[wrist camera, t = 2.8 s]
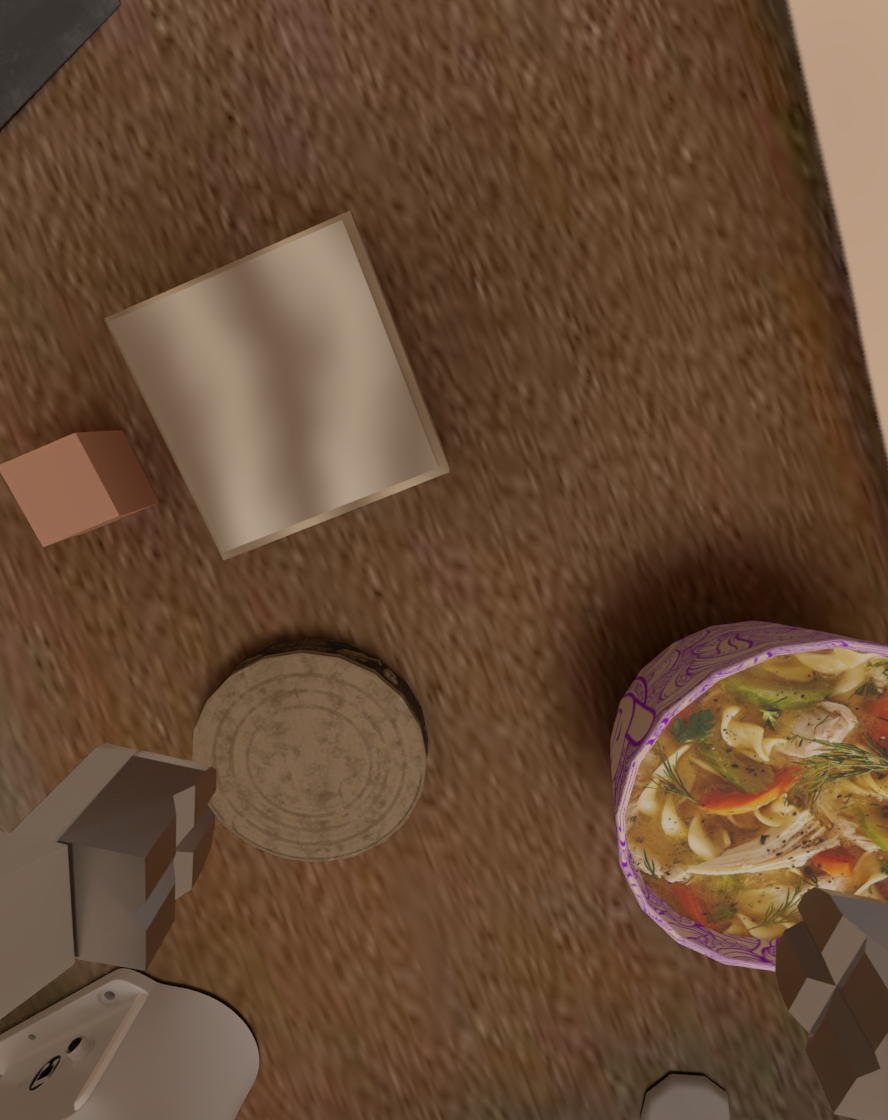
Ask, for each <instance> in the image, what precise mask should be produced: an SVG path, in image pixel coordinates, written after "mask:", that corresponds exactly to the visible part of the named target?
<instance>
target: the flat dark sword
mask: <svg viewBox="0 0 888 1120" xmlns="http://www.w3.org/2000/svg"><path fill="white" fill-rule="evenodd" d="M120 5H121V4H120V0H0V128H1V127H2V126H3V125H4V124H5V123H6V122H7V121H8V120H9V119H10V118H11V117H12V116H13V115H14V114H15V113H16V112H17V111H18V110H19V109H20V108H21V107H22V106H23V105H24V104H25V103H26V102H27V101H28V100H29V99H30V98H31V97H32V96H33V95H34V94H35V93H36V91H37V90H38V89H39V88H40V87H41V86H42V85H43V84H44V83H45V82H46V81H47V80H48V79H49V78H50V77H51V76H52V75H53V74H54V73H55V72H56V71H57V70H58V69H59V68H60V67H61V66H62V65H63V64H64V63H65V62H66V61H67V60H68V59H69V58H70V57H71V56H72V55H73V54H74V53H75V51H76V50H77V49H78V48H79V47H80V46H81V45H82V44H83V43H84V42H85V41H86V40H87V39H88V38H89V37H90V36H91V35H92V34H93V33H94V32H95V31H96V30H97V29H98V28H99V27H100V26H101V25H102V24H103V23H104V22H105V21H106V20H107V19H108V18H109V17H110V16H111V15H112V14H113V13H114V12H115V10H116V9H117V8H118V7H119V6H120Z"/></svg>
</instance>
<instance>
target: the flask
mask: <svg viewBox="0 0 888 1120" xmlns="http://www.w3.org/2000/svg"><path fill="white" fill-rule="evenodd" d="M641 1119H642V1120H730V1118H729V1105H728V1096H727V1093H726V1092H725V1091H724V1090H722V1089H721V1088H720V1087H718V1086H717V1085H716V1084H715V1083H713V1082H712V1081H711V1080H709V1079H708V1078H707V1077H705V1076H697V1075H682V1074H670V1075H669V1076H668V1077H666V1078H665V1079H664V1080H662V1081H661V1082H660V1083H658V1084H657V1085H656V1086H655V1087H653V1088H652V1089H651V1090H649V1091H648V1092H647V1093H646V1096H645V1101H644V1105H643V1110H642V1114H641Z"/></svg>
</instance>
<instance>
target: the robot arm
mask: <svg viewBox="0 0 888 1120" xmlns="http://www.w3.org/2000/svg"><path fill="white" fill-rule="evenodd" d="M216 773H217V770H216V769H214V768H213V767H212V766H209V765H205V764H200V763H196V762H191V761H187V760H183V759H178V758H174V757H169V756H165V755H161V754H156V753H152V752H147V751H138V750H134V749H130V748H126V747H121V746H117V745H113V744H109V743H106V744H104V745H101V746H99V747H97V748H95V749H94V750H93V751H92V752H91V753H90V754H89V755H88V756H87V757H86V758H85V759H84V760H83V761H82V762H81V763H80V764H79V765H78V766H77V767H76V768H75V769H74V770H73V771H72V772H71V773H70V774H69V775H68V776H67V777H66V778H65V779H64V780H63V781H62V782H61V783H60V784H59V785H58V786H57V787H56V788H55V789H54V790H53V791H52V792H51V793H50V794H49V795H48V796H47V797H46V798H45V799H44V800H43V801H42V802H41V803H40V804H39V805H38V806H37V807H36V808H35V809H34V810H33V811H32V812H31V813H30V814H29V815H28V816H27V817H26V818H25V819H24V820H23V821H22V822H21V823H20V824H19V825H18V826H17V827H16V828H15V829H14V830H13V831H12V832H11V833H9V832H3V831H0V1019H2V1018H3V1017H4V1016H6V1015H7V1014H8V1013H10V1012H11V1011H12V1010H14V1009H15V1008H16V1007H18V1006H19V1005H20V1004H22V1003H23V1002H24V1001H26V1000H27V999H28V998H30V997H31V996H32V995H34V994H35V993H36V992H38V991H39V990H40V989H42V988H43V987H44V986H46V985H47V984H48V983H50V982H51V981H52V980H54V979H55V978H56V977H58V976H59V975H60V974H62V973H63V972H64V971H66V970H67V969H68V968H70V967H71V966H72V965H74V964H75V959H80V960H85V961H91V962H97V963H103V964H108V965H114V966H120V967H126V968H121V969H117V970H115V971H113V972H111V973H109V974H108V975H106V976H104V977H102V978H101V979H99V980H97V981H95V982H93V983H92V984H90V985H88V986H86V987H84V988H83V989H81V990H79V991H77V992H76V993H74V994H72V995H70V996H68V997H67V998H65V999H63V1000H61V1001H59V1002H58V1003H56V1004H54V1005H52V1006H51V1007H49V1008H47V1009H45V1010H43V1011H42V1012H40V1013H38V1014H36V1015H34V1016H33V1017H31V1018H29V1019H27V1020H25V1021H24V1022H22V1023H20V1024H18V1025H17V1026H15V1027H13V1028H11V1029H9V1030H8V1031H6V1032H4V1033H2V1034H1V1035H0V1120H235V1118H236V1116H237V1114H238V1112H239V1110H240V1108H241V1106H242V1104H243V1102H244V1100H245V1098H246V1096H247V1095H248V1093H249V1091H250V1089H251V1088H252V1086H253V1084H254V1082H255V1080H256V1077H257V1074H258V1069H259V1053H258V1048H257V1044H256V1042H255V1039H254V1037H253V1035H252V1033H251V1031H250V1030H249V1028H248V1027H247V1025H246V1024H245V1023H244V1022H243V1021H242V1019H241V1018H240V1017H239V1016H238V1015H237V1014H236V1013H234V1012H233V1011H232V1010H231V1009H230V1008H228V1007H227V1006H225V1005H224V1004H222V1003H221V1002H219V1001H217V1000H216V999H214V998H212V997H209V996H207V995H205V994H202V993H199V992H197V991H193V990H190V989H185V988H180V987H175V986H169V985H165V984H161V983H158V982H156V981H154V980H152V979H150V978H148V977H146V976H145V975H143V974H141V973H139V972H136V971H134V970H131V969H137V970H143V971H146V969H147V968H148V966H149V964H150V962H151V961H152V959H153V957H154V955H155V954H156V952H157V950H158V948H159V946H160V945H161V943H162V941H163V939H164V938H165V936H166V934H167V932H168V931H169V929H170V927H171V925H172V923H173V922H174V915H175V899H177V898H179V897H180V896H182V895H183V894H185V893H186V892H188V891H190V890H191V889H192V888H193V886H194V884H195V882H196V880H197V878H198V876H199V875H200V873H201V871H202V869H203V866H204V863H205V861H206V858H207V855H208V853H209V850H210V847H211V843H212V838H213V833H214V825H215V814H214V813H213V812H212V810H211V809H210V807H209V806H208V803H209V801H210V799H211V798H212V796H213V794H214V793H215V791H216ZM797 908H798V911H799V914H800V916H801V919H802V921H800V922H799V923H797V924H795V925H793V926H791V927H790V928H788V929H786V930H784V932H783V934H782V937H781V939H780V941H779V943H778V945H777V948H776V965H775V972H776V976H777V981H778V985H779V990H780V992H781V995H782V997H783V1000H784V1002H785V1004H786V1007H787V1009H788V1011H789V1012H790V1013H791V1014H792V1016H793V1017H794V1018H795V1019H796V1020H797V1021H798V1022H799V1023H800V1024H801V1025H802V1026H803V1027H804V1028H805V1029H806V1030H807V1031H808V1032H809V1035H808V1040H807V1045H806V1049H805V1050H806V1053H807V1055H808V1057H809V1059H810V1062H811V1064H812V1066H813V1068H814V1071H815V1073H816V1075H817V1077H818V1080H819V1082H820V1084H821V1086H822V1089H823V1091H824V1093H825V1095H826V1098H827V1100H828V1102H829V1104H830V1107H831V1109H832V1111H833V1113H834V1114H837V1115H841V1116H846V1117H850V1118H854V1119H858V1120H888V901H885V900H881V899H876V898H870V897H865V896H860V895H855V894H850V893H844V892H839V891H834V890H829V889H823V888H818V887H814V888H812V889H810V890H809V891H807V892H805V893H804V895H803V897H802V898H801V900H800V902H799V904H798V906H797ZM127 968H131V969H127Z"/></svg>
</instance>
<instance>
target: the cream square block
mask: <svg viewBox="0 0 888 1120" xmlns="http://www.w3.org/2000/svg"><path fill="white" fill-rule="evenodd" d="M104 319H105V321H106V323H107V325H108V327H109V330H110V332H111V334H112V336H113V338H114V340H115V342H116V344H117V346H118V348H119V350H120V352H121V354H122V356H123V358H124V360H125V362H126V364H127V366H128V368H129V370H130V372H131V374H132V376H133V378H134V380H135V382H136V384H137V386H138V388H139V390H140V392H141V394H142V396H143V398H144V400H145V402H146V404H147V406H148V408H149V411H150V413H151V415H152V417H153V419H154V421H155V423H156V425H157V427H158V429H159V431H160V433H161V435H162V437H163V439H164V441H165V443H166V445H167V447H168V449H169V451H170V453H171V455H172V457H173V459H174V461H175V463H176V465H177V467H178V469H179V471H180V473H181V475H182V477H183V479H184V481H185V483H186V485H187V487H188V490H189V492H190V494H191V496H192V498H193V500H194V502H195V504H196V506H197V508H198V510H199V512H200V514H201V516H202V518H203V520H204V522H205V524H206V526H207V528H208V530H209V532H210V534H211V536H212V538H213V540H214V542H215V544H216V546H217V548H218V550H219V552H220V554H221V556H222V558H223V560H227V559H229V558H232V557H234V556H237V555H239V554H242V553H244V552H247V551H250V550H252V549H255V548H257V547H260V546H262V545H265V544H267V543H270V542H272V541H275V540H278V539H280V538H283V537H285V536H288V535H290V534H293V533H295V532H298V531H300V530H303V529H306V528H308V527H311V526H313V525H316V524H318V523H321V522H323V521H326V520H328V519H331V518H334V517H336V516H339V515H341V514H344V513H346V512H349V511H351V510H354V509H356V508H359V507H362V506H364V505H367V504H369V503H372V502H374V501H377V500H379V499H382V498H384V497H387V496H390V495H392V494H395V493H397V492H400V491H402V490H405V489H407V488H410V487H412V486H415V485H418V484H420V483H423V482H425V481H428V480H430V479H433V478H435V477H438V476H441V475H443V474H446V473H448V472H450V464H449V461H448V459H447V456H446V454H445V451H444V448H443V446H442V443H441V441H440V438H439V435H438V433H437V430H436V427H435V425H434V422H433V420H432V417H431V414H430V412H429V409H428V407H427V404H426V401H425V399H424V396H423V394H422V391H421V388H420V386H419V383H418V381H417V378H416V375H415V373H414V370H413V368H412V365H411V362H410V360H409V357H408V355H407V352H406V349H405V347H404V344H403V342H402V339H401V336H400V334H399V331H398V329H397V326H396V323H395V321H394V318H393V316H392V313H391V310H390V308H389V305H388V303H387V300H386V297H385V295H384V292H383V290H382V287H381V284H380V282H379V279H378V277H377V274H376V271H375V269H374V266H373V264H372V261H371V258H370V256H369V253H368V251H367V248H366V245H365V243H364V240H363V238H362V236H361V234H360V231H359V229H358V227H357V225H356V223H355V221H354V218H353V216H352V214H351V212H350V211H348V212H345V213H343V214H341V215H339V216H336V217H334V218H332V219H329V220H327V221H325V222H323V223H320V224H318V225H316V226H314V227H311V228H309V229H307V230H304V231H302V232H300V233H298V234H295V235H293V236H291V237H289V238H286V239H284V240H282V241H279V242H277V243H275V244H273V245H270V246H268V247H266V248H264V249H261V250H259V251H257V252H254V253H252V254H250V255H248V256H245V257H243V258H241V259H239V260H236V261H234V262H232V263H229V264H227V265H225V266H223V267H220V268H218V269H216V270H214V271H211V272H209V273H207V274H204V275H202V276H200V277H198V278H195V279H193V280H191V281H189V282H186V283H184V284H182V285H179V286H177V287H175V288H173V289H170V290H168V291H166V292H164V293H161V294H159V295H157V296H154V297H152V298H150V299H148V300H145V301H143V302H141V303H138V304H136V305H134V306H132V307H129V308H127V309H125V310H123V311H120V312H118V313H116V314H113V315H111V316H109V317H107V318H104Z"/></svg>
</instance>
